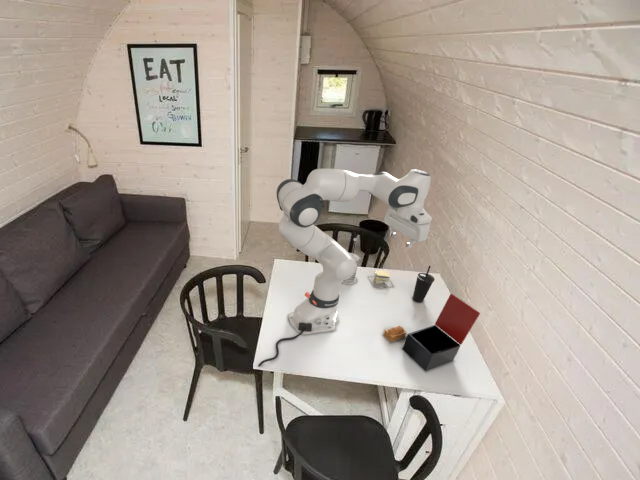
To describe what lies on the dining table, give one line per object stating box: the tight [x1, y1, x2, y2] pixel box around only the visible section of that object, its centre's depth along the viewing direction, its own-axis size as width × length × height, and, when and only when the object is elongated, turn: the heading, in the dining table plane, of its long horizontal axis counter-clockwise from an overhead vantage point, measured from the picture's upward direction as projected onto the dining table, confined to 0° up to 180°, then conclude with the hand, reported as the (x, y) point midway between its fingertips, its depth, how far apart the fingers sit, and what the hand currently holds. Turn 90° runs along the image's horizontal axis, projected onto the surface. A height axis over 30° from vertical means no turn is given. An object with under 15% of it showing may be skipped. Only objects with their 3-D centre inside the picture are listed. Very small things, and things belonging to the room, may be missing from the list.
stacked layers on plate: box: [368, 269, 394, 288], centre depth 187 cm, size 10×9×6 cm
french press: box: [341, 237, 360, 285], centre depth 183 cm, size 10×12×25 cm
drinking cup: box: [412, 265, 435, 304], centre depth 170 cm, size 8×8×20 cm
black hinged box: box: [401, 324, 462, 372], centre depth 143 cm, size 15×13×9 cm
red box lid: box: [434, 293, 481, 346], centre depth 139 cm, size 15×13×1 cm
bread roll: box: [383, 325, 408, 343], centre depth 153 cm, size 8×4×4 cm, turn 112°
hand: (400, 241), depth 147 cm, fingers open, 8 cm apart
